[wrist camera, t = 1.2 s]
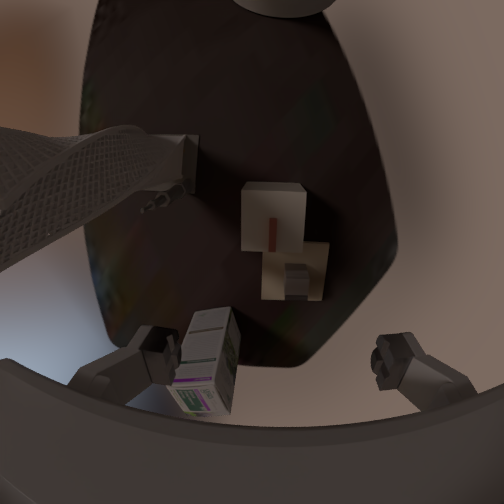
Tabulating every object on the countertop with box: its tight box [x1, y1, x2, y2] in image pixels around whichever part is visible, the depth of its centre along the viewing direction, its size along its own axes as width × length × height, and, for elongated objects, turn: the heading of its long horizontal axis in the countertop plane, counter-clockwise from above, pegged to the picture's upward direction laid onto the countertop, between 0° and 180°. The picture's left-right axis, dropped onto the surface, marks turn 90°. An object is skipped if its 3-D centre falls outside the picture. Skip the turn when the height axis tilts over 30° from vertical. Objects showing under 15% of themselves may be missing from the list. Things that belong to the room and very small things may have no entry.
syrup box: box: [166, 307, 241, 417], centre depth 31 cm, size 6×6×14 cm
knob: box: [241, 182, 307, 253], centre depth 28 cm, size 6×6×7 cm
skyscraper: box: [0, 125, 199, 272], centre depth 17 cm, size 8×8×28 cm
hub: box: [261, 241, 329, 301], centre depth 32 cm, size 8×8×5 cm
